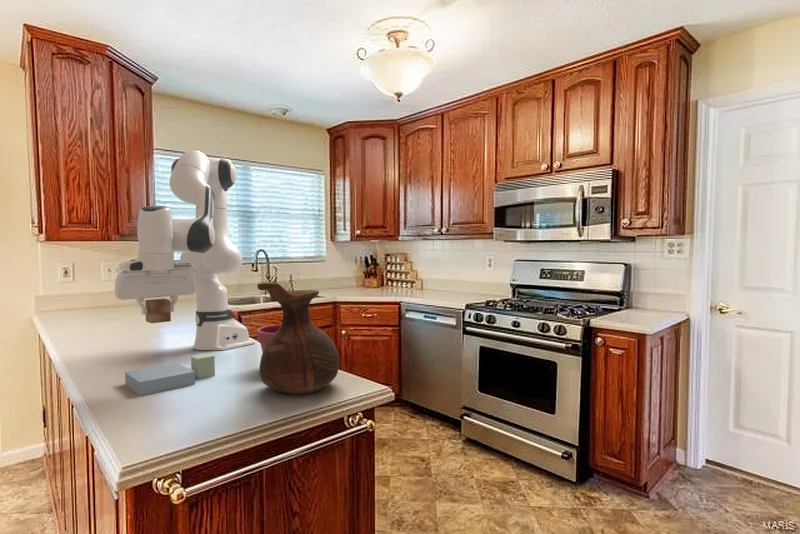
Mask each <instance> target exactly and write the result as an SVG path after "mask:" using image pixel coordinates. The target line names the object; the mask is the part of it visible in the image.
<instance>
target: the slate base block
mask: <svg viewBox="0 0 800 534" xmlns="http://www.w3.org/2000/svg"><path fill="white" fill-rule="evenodd" d="M124 380H125V385H126V386H127V387H128V388H129V389H131V390H132V391H133V392H135V393H136V394H137V395H138V396H146V395H151V394H154V393H155V394H156V393H159V392H160V393H161V392H163V391H164V392H165V391H169V390H174V389H179V388H183V387H188V386H193V385H196V378H195V372H194V371H192V370H191V368H188V367H186V366H184V365H183V364H180V363H179V362H174V363H169V364H162V365H156V366H151V367H145V368H140V369H139V368H138V369H134V370H128V371H127V370H126V371H124Z"/></svg>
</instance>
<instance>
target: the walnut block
mask: <svg viewBox="0 0 800 534" xmlns="http://www.w3.org/2000/svg"><path fill="white" fill-rule="evenodd" d="M170 303H171V299H167V298H155V299H154V298H152V299H144V306H145V307H148V308H149V314H145V322H146V323H150V324H158V323H159V324H160V323H168V322H171V321H172V320H171V319H172V316H171V313H172V312H171V310H170Z"/></svg>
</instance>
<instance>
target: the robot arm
mask: <svg viewBox="0 0 800 534" xmlns="http://www.w3.org/2000/svg"><path fill="white" fill-rule="evenodd" d="M170 170H171V173H170V177H169V188H170V190H171V192H172V193H173V195H174V196H175V197H176V198H178V199H179V200H181V201H182V202H184V203H188V204H191V205H195V218H191V219H185V218H183V219H180V218H179V219H177V218H176V219H173V217H172V212H171V208H170V207H168V206H166V205H148V206H143V207H141V208H140V209H139V211H138V216H137V234H136V235H137V241H138V243H139V246H138V251H137V258H133V259H130V260H127V261H123V262H120V263H119V265H118V268H119V269H118V270H119V271H120V272H119V273H118V274H117V275H116V277H115V283H114V296H115V298H117V299H118V300H121V301H122V300H123V301H124V300H136V303H137V305H138V306H139V307H140V309H141V314H142V315H145V316H146V314H149V308H148V307H145V304H144V303H145V299H148V298H150V299H151V298H162V297H163V298H164V297H170V299H169V300H170V310H171V313H173V312H174V311H175V305H176V303H177V302H178V298H179V296H188V295H189V296H190V295H194V294H195V297H196V298H195V299H196V310H195V325H196V329H195V330H196V332H195V338H194V343H193V346H192V347H193V349H194V350H199V351H226V350H230V349H231V350H232V349H235V348H239V347H245V346H249V345H253V344H255V343H256V341H255V339H254V338H252V337H250V335H249V331H248V328H247V326H245V325H243V324H242V323H241V322H240V321H237V320H236V319H235V318H233V317H235V316H237V315H238V311H237V310H234V309H232V310H231V309H229V302H228V301H229V299H228V296H229V295H228V289H227V288H226V286H225V285H223V284H222V283H221V282H220V280H219V278H218V275H229V274H233V273H237V272H238V271H240V269H241V267H242V264H243V254H242V253H241V251H240V250H239V248H237V247H236V246H235V244H234V243H233V242H232V239H231V237H230V235H229V231H228V201H227V195H226V194H227V193H226V192H228V191H229V189H231V188H232V186H233V185H234V184H235V183H236V178H237V169H236V166H235V164H234V162H233V160H230V159H227V158H224V157H221V158H218V157H209V156H207V155H206V154H205V153H203V152H201V151H199V150H194V149H193V150H186V151H185V152H183V153H182V154H181V156H180V157H179V158H177V159H175V160H174V161H173V162H172V164H171V168H170ZM175 252H178V253H180V252H181V254H180V260H179V262H178V263H177V262H176V263H175V254H174V253H175ZM244 345H245V346H244Z"/></svg>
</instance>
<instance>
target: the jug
mask: <svg viewBox="0 0 800 534" xmlns="http://www.w3.org/2000/svg"><path fill="white" fill-rule="evenodd" d="M256 286H257V290H260V291H267V292H268V294H269V296H270V299H271V300H272V301H274V302H277V303H278V304H279V305H280V306H281V309H282V321H281V324H280V325H281V326H280V328H279V329H278V330H277V331H276V332H275V333H274V334H273V335H272V336H271V338H270V339H269V341H268V343H267V345H266V347H265V349H264V351H263V353H262V354H261V357H260V361H259V375H260V379H261V381H262V383H263V384H264V385H265V386H267V387H269V388H270V389H271V388H272V389H273V390H275V391H276V392H279V393H282V394H283V393H284V394H290V395H306V394H312V393H315V392H318V391H320V389H322V388H324V387H326V386H328V385H329V384H331V383H332V381H334V380H335V378H336V377H337V374H338V373H339V368H340V358H339V352H338V349H337V347H336V345H335V343H334V341H333V340H332V339H331V337H330V336H329V335H328V334H327V333H326V332H325V331H324V330H321V329H320V328H319V327H318V326H316V325H315V324H313V322H312V319H311V315H310V311H309V310H310V309H309V307H310V304H311V302H312V300H313V299H314V298H316V297H317V296H318V295H319V293H320V291H319V290H316V289H300V290H299V289H297V290H296V289H295V290H287V289H286V288H284V287H283V286H282V285H281V284H279V282H276V281H269V282H268V281H265V282H259V283H257V285H256Z"/></svg>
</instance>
